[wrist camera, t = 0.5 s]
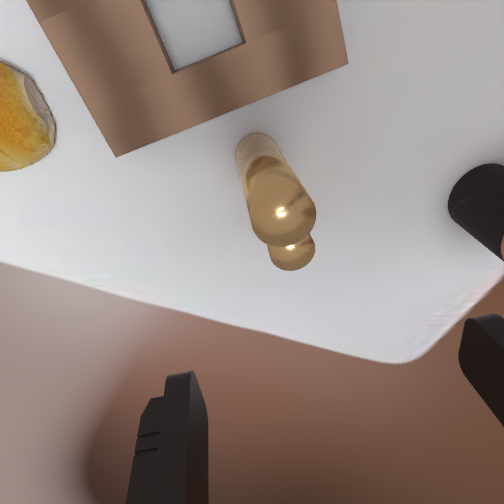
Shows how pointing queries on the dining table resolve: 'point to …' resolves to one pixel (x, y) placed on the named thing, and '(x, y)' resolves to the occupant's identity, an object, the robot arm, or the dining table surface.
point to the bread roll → (22, 121)
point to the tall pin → (273, 193)
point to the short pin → (293, 254)
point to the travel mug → (481, 206)
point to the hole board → (192, 76)
